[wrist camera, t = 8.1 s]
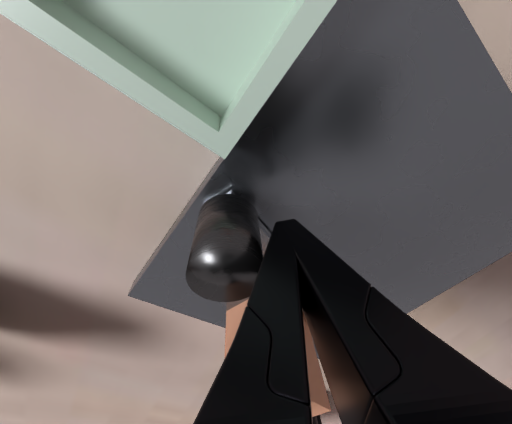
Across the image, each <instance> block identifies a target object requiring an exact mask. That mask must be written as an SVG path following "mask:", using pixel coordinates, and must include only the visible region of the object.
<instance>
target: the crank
mask: <svg viewBox="0 0 512 424" xmlns="http://www.w3.org/2000/svg"><path fill="white" fill-rule="evenodd" d="M270 236H271V233H270V232H269V230H268V229H267V228H266V227H265V226H264V225H263V224H262V223H261V222H260V220H259V219H258V214H257V211H256V209H255V207H254V206H253V204H252V203H251V202H250V201H248V200H247V199H245V198H244V197H241V196H238V195H236V194H235V193H234V192H233V191H232V190H230V191H229V192H227V193H226V194H221V195H217V196H214V197H212V198H210V199H209V200H207V201H206V202H205V203H204V204H203V205H202V207H201V209H200V211H199V215H198V219H197V224H196V228H195V233H194V237H193V242H192V246H191V251H190V255H189V260H188V264H187V269H186V275H185V276H186V281H187V284H188V286H189V287H190V289H191V290H192V291H193V292H195V293H196V294H197V295H199V296H201V297H203V298H205V299H208V300H212V301H217V302H233V301H239V300H242V299H245V298H247V297H249V296H250V294H251V291H252V288H253V285H254V282H255V279H256V276H257V273H258V271H259V268H260V265H261V262H262V259H263V256H264V253H265V250H266V247H267V245H268V242H269V239H270ZM302 310H303V309H302ZM311 336H312V335H311ZM312 339H313V338H312ZM313 343H314V341H313ZM314 345H315V344H314Z"/></svg>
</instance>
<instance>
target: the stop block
mask: <svg viewBox="0 0 512 424" xmlns="http://www.w3.org/2000/svg"><path fill="white" fill-rule="evenodd" d="M247 302H248V300H246V301H244V302H242V303H240V304H239V305H237V306H235V307H233V308H231V309H230V310H228V311H226V335H225V357H226V355H227V353H228V351H229V349H230V346H231V344H232V342H233V340H234V337H235V335H236V332H237V330H238V327H239V324H240V322H241V319H242V316H243V313H244V310H245V308H246V307H247ZM302 311H303V310H302ZM303 322H304V333H305V344H306V354H307V365H308V376H309V387H310V397H311V408H312V417H314V416H317V415H320V414H323V413H326V412H329V411H331V407H330V404H329V400H328V396H327V392H326V389H325V385H324V381H323V377H322V373H321V370H320V366H319V362H318V358H317V355H316V351H315V347H314V343H313V339H312V336H311V333H310V330H309V327H308V324H307V321H306V318H305V315H304V312H303Z"/></svg>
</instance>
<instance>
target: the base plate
mask: <svg viewBox="0 0 512 424" xmlns="http://www.w3.org/2000/svg"><path fill="white" fill-rule="evenodd" d="M230 190H232V191H233V192H234V193H235V194H236V195H238V196H241V197H244V198H245V199H247V200H248V201H250V202H251V203H252V204H253V206H254V207H255V209H256V211H257V214H258V219H259V220H260V222H261V223H262V224H263V225H264V226H265V227H266V228H267V229H268V230H269V232H270V233H272V230H273V227H274V224H275V222H277V221H283V220H289V219H296V220H297V221H298V222H299V223H301V224H302V225H303V226H304V227H305V228H306V229H308V230H309V231H310V232H311V233H312V234H313V235H314V236H316V237H317V238H318V239H319V240H320V241H321V242H323V243H324V244H325V245H326V246H327V247H328V248H329V249H331V250H332V251H333V252H334V253H335V254H336V255H338V256H339V257H340V258H341V259H342V260H343V261H344V262H346V263H347V264H348V265H349V266H350V267H351V268H353V269H354V270H355V271H356V272H357V273H358V274H360V275H361V276H362V277H363V278H364V279H365V280H366V281H368V282H369V283H370V284H371V287H372V286H373V287H375V288H376V289H377V290H378V291H379V292H380V293H382V294H383V295H384V296H385V297H386V298H387V299H389V300H390V301H391V302H392V303H393V304H395V305H396V306H397V307H398V308H400V309H401V310H402V311H403V312H404V313H406V314H407V313H408V312H410V311H412V310H414V309H415V308H417V307H419V306H420V305H422V304H424V303H425V302H427V301H429V300H431V299H432V298H434V297H436V296H437V295H439V294H441V293H442V292H444V291H446V290H448V289H449V288H451V287H453V286H454V285H456V284H458V283H459V282H461V281H463V280H465V279H466V278H468V277H470V276H471V275H473V274H475V273H476V272H478V271H480V270H482V269H483V268H485V267H487V266H488V265H490V264H492V263H493V262H495V261H497V260H499V259H500V258H502V257H504V256H505V255H507V254H509V253H510V252H512V93H511V91H510V90H509V88H508V86H507V85H506V83H505V81H504V79H503V78H502V76H501V74H500V73H499V71H498V69H497V67H496V66H495V64H494V62H493V61H492V59H491V57H490V56H489V54H488V52H487V50H486V49H485V47H484V45H483V44H482V42H481V40H480V38H479V37H478V35H477V33H476V32H475V30H474V28H473V26H472V25H471V23H470V21H469V20H468V18H467V16H466V14H465V13H464V11H463V9H462V8H461V6H460V4H459V2H458V1H457V0H337V1H336V3H335V4H334V6H333V7H332V9H331V10H330V11H329V13H328V14H327V16H326V17H325V18H324V20H323V21H322V23H321V24H320V26H319V27H318V28H317V30H316V31H315V33H314V34H313V35H312V37H311V38H310V40H309V41H308V43H307V44H306V45H305V47H304V48H303V50H302V51H301V52H300V54H299V55H298V57H297V58H296V59H295V61H294V62H293V64H292V65H291V67H290V68H289V69H288V71H287V72H286V74H285V75H284V76H283V78H282V79H281V81H280V82H279V84H278V85H277V86H276V88H275V89H274V91H273V92H272V93H271V95H270V96H269V98H268V99H267V101H266V102H265V103H264V105H263V106H262V108H261V109H260V110H259V112H258V113H257V115H256V116H255V117H254V119H253V120H252V122H251V123H250V125H249V126H248V127H247V129H246V130H245V132H244V133H243V134H242V136H241V137H240V139H239V140H238V142H237V143H236V144H235V146H234V147H233V149H232V150H231V151H230V153H229V154H228V156H227V157H226V159H223V158H222V157H220V158H219V159H218V161H217V162H216V163H215V165H214V166H213V168H212V169H211V171H210V172H209V174H208V175H207V176H206V178H205V179H204V181H203V182H202V184H201V185H200V187H199V188H198V189H197V191H196V192H195V194H194V195H193V197H192V198H191V200H190V201H189V202H188V204H187V205H186V207H185V208H184V210H183V211H182V213H181V214H180V215H179V217H178V218H177V220H176V221H175V223H174V224H173V226H172V227H171V228H170V230H169V231H168V233H167V234H166V236H165V237H164V239H163V240H162V241H161V243H160V244H159V246H158V247H157V249H156V250H155V252H154V253H153V254H152V256H151V257H150V259H149V260H148V262H147V263H146V265H145V266H144V267H143V269H142V270H141V272H140V273H139V275H138V276H137V278H136V279H135V280H134V282H133V285H132V287H131V289H130V292H129V294H128V296H130V297H133V298H136V299H139V300H142V301H145V302H148V303H151V304H154V305H157V306H160V307H163V308H167V309H170V310H173V311H176V312H179V313H182V314H185V315H188V316H191V317H194V318H197V319H200V320H203V321H206V322H209V323H212V324H215V325H218V326H221V327H224V328H226V311H228V310H230V309H231V308H233V307H235V306H237V305H239V304H240V303H242V302H244V301H246V300H248V299H249V297H247V298H245V299H242V300H239V301H233V302H217V301H212V300H208V299H205V298H203V297H201V296H199V295H197V294H196V293H195V292H193V291H192V290H191V289H190V287H189V286H188V284H187V281H186V276H185V275H186V269H187V264H188V260H189V255H190V251H191V246H192V242H193V237H194V233H195V228H196V224H197V219H198V215H199V211H200V209H201V207H202V205H203V204H204V203H205V202H206V201H207V200H209V199H210V198H212V197H214V196H217V195H221V194H226V193H227V192H229V191H230ZM314 347H315V345H314ZM315 351H316V355H317V358H318V359H319V356H318V353H317V350H316V347H315Z"/></svg>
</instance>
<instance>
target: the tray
mask: <svg viewBox="0 0 512 424" xmlns="http://www.w3.org/2000/svg"><path fill="white" fill-rule="evenodd" d="M336 1H337V0H0V14H2V15H3V16H5V17H6V18H8V19H9V20H11V21H13V22H14V23H16V24H17V25H19V26H20V27H22V28H23V29H25V30H26V31H28V32H29V33H31V34H33V35H34V36H36V37H37V38H39V39H40V40H42V41H43V42H45V43H46V44H48V45H49V46H51V47H53V48H54V49H56V50H57V51H59V52H60V53H62V54H63V55H65V56H66V57H68V58H69V59H71V60H73V61H74V62H76V63H77V64H79V65H80V66H82V67H83V68H85V69H86V70H88V71H89V72H91V73H93V74H94V75H96V76H97V77H99V78H100V79H102V80H103V81H105V82H106V83H108V84H109V85H111V86H112V87H114V88H116V89H117V90H119V91H120V92H122V93H123V94H125V95H126V96H128V97H129V98H131V99H132V100H134V101H136V102H137V103H139V104H140V105H142V106H143V107H145V108H146V109H148V110H149V111H151V112H152V113H154V114H156V115H157V116H159V117H160V118H162V119H163V120H165V121H166V122H168V123H169V124H171V125H172V126H174V127H176V128H177V129H179V130H180V131H182V132H183V133H185V134H186V135H188V136H189V137H191V138H192V139H194V140H196V141H197V142H199V143H200V144H202V145H203V146H205V147H206V148H208V149H209V150H211V151H212V152H214V153H216V154H217V155H219V156H220V157H222V158H223V159H226V157H227V156H228V154H229V153H230V151H231V150H232V149H233V147H234V146H235V144H236V143H237V142H238V140H239V139H240V137H241V136H242V134H243V133H244V132H245V130H246V129H247V127H248V126H249V125H250V123H251V122H252V120H253V119H254V117H255V116H256V115H257V113H258V112H259V110H260V109H261V108H262V106H263V105H264V103H265V102H266V101H267V99H268V98H269V96H270V95H271V93H272V92H273V91H274V89H275V88H276V86H277V85H278V84H279V82H280V81H281V79H282V78H283V76H284V75H285V74H286V72H287V71H288V69H289V68H290V67H291V65H292V64H293V62H294V61H295V59H296V58H297V57H298V55H299V54H300V52H301V51H302V50H303V48H304V47H305V45H306V44H307V43H308V41H309V40H310V38H311V37H312V35H313V34H314V33H315V31H316V30H317V28H318V27H319V26H320V24H321V23H322V21H323V20H324V18H325V17H326V16H327V14H328V13H329V11H330V10H331V9H332V7H333V6H334V4H335V3H336Z"/></svg>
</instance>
